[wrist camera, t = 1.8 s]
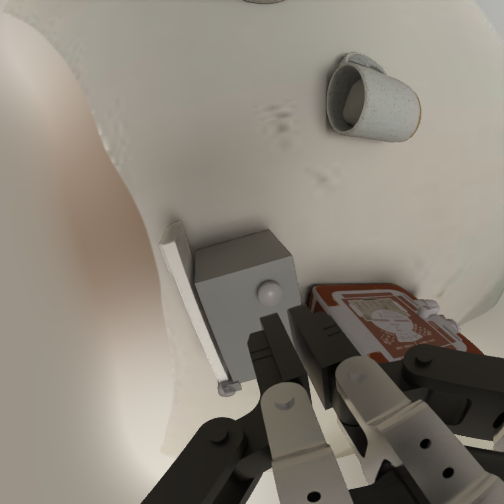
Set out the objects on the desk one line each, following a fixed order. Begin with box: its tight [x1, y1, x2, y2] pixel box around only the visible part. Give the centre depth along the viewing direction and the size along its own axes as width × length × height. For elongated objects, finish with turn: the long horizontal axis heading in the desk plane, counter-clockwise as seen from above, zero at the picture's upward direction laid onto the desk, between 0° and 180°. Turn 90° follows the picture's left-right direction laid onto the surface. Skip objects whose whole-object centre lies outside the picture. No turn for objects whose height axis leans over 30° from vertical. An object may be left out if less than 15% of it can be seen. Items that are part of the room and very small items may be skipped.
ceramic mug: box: [326, 52, 421, 142], centre depth 22 cm, size 11×8×8 cm
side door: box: [159, 221, 233, 385], centre depth 27 cm, size 17×2×7 cm, turn 13°
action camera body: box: [195, 230, 302, 397], centre depth 27 cm, size 14×10×9 cm
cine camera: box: [308, 284, 484, 363], centre depth 26 cm, size 9×19×20 cm, turn 84°
